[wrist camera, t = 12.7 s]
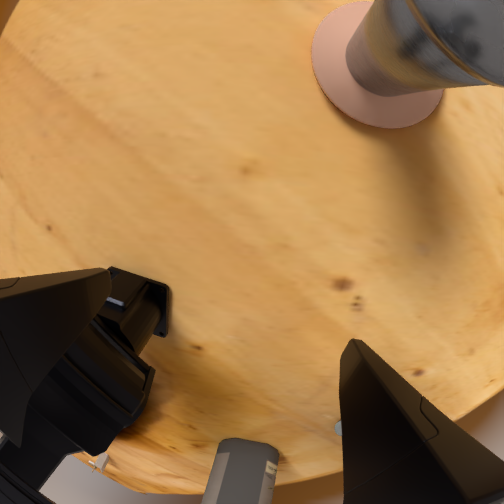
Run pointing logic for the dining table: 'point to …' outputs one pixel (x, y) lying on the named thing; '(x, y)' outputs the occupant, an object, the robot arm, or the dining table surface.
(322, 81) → the soap bar
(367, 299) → the dining table surface
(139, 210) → the dining table surface
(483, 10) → the canister
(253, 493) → the liquor
